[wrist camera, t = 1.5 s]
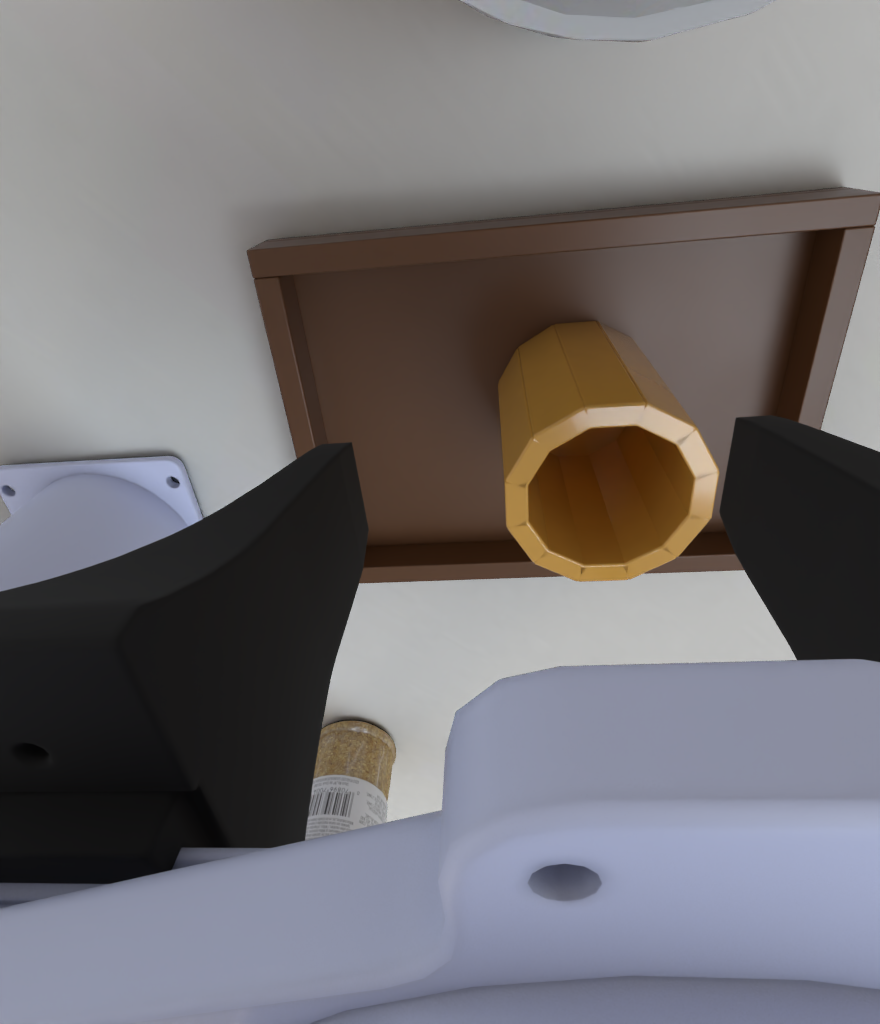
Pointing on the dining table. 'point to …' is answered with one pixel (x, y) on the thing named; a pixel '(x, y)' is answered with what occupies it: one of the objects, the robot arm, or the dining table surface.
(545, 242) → the tray
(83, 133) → the dining table surface
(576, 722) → the robot arm
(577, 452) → the cup
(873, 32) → the dining table surface
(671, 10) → the disposable coffee cup
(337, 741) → the sprinkles bottle
